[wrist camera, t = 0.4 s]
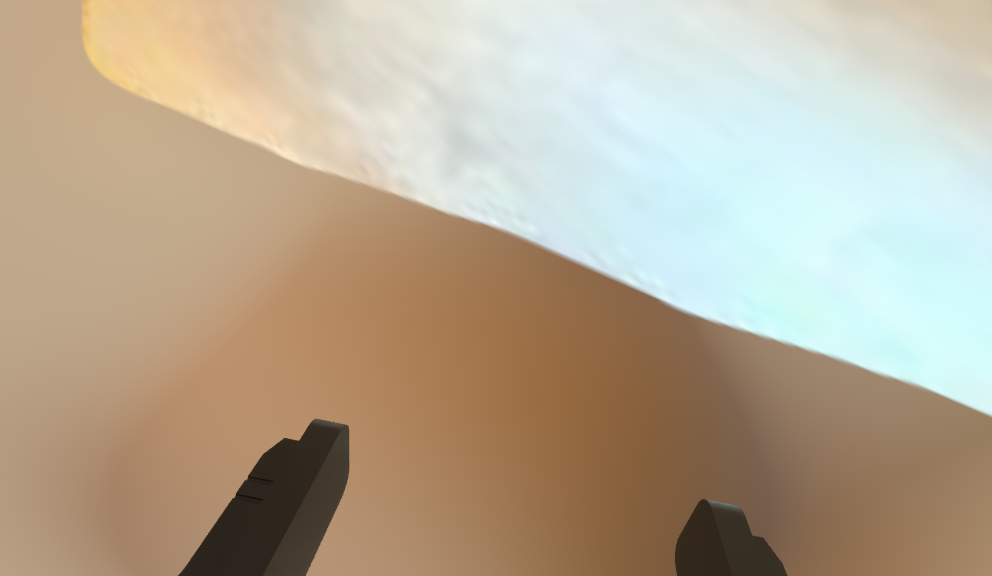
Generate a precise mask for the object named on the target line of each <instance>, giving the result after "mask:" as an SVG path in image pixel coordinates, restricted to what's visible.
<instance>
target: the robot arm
mask: <svg viewBox="0 0 992 576" xmlns="http://www.w3.org/2000/svg"><path fill="white" fill-rule="evenodd" d="M348 474H349V427H348V426H347V425H345V424H340V423H335V422H330V421H325V420H320V419H314V420H313V421H312V422H311V423H310V425H309V426H308V428H307V429H306V431H305V432H304V434H303V436H302V437H301V439H300V440H299V441H297V440H292V439H287V438H284V439H283V440H281V441H280V442H279V443H277V444H276V445H275V446H273V447H272V448H271V449H269V450H268V451H267V452H265V453H264V454H263V455H262V457H261V458H260V459H259V461H258V462H257V464H256V465H255V467H254V468H253V470H252V471H251V473H250V474H249V475H248V479H247V480H245V481H244V483H243V484H242V486H241V487H240V488H239V490H238V491H237V493H236V496H235V498H233V499H232V500H231V502H230V503H229V504H228V506H227V507H226V509H225V510H224V512H223V513H222V515H221V516H220V517H219V519H218V521H217V522H216V523H215V525H214V526H213V528H212V529H211V531H210V532H209V533H208V535H207V536H206V538H205V539H204V541H203V542H202V544H201V545H200V547H199V548H198V550H197V551H196V552H195V554H194V555H193V557H192V558H191V560H190V561H189V563H188V564H187V565H186V567H185V568H184V570H183V571H182V572H181V573H180V574H179V575H178V576H306V573H307V572H308V569H309V567H310V565H311V563H312V561H313V559H314V556H315V554H316V552H317V550H318V548H319V546H320V543H321V541H322V539H323V537H324V535H325V533H326V531H327V528H328V526H329V524H330V522H331V520H332V518H333V515H334V513H335V511H336V509H337V507H338V505H339V502H340V500H341V498H342V496H343V493H344V490H345V487H346V484H347V480H348ZM675 566H676V571H677V576H787V574H786V571H785V569H784V566H783V564H782V562H781V561H780V560H779V558H778V557H777V556H776V554H775V553H774V552H773V550H772V549H771V548H770V546H769V545H768V544H767V542H766V541H765V540H764V538H762V537H757V536H752V534H751V531H750V528H749V525H748V523H747V520H746V517H745V515H744V512H743V511H742V509H741V508H740V507H738V506H735V505H730V504H725V503H720V502H716V501H711V500H706V499H702V500H701V501H699V503H698V504H697V506H696V508H695V509H694V511H693V513H692V515H691V517H690V518H689V520H688V522H687V524H686V525H685V527H684V529H683V531H682V532H681V534H680V536H679V538H678V541H677V544H676V550H675Z"/></svg>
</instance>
